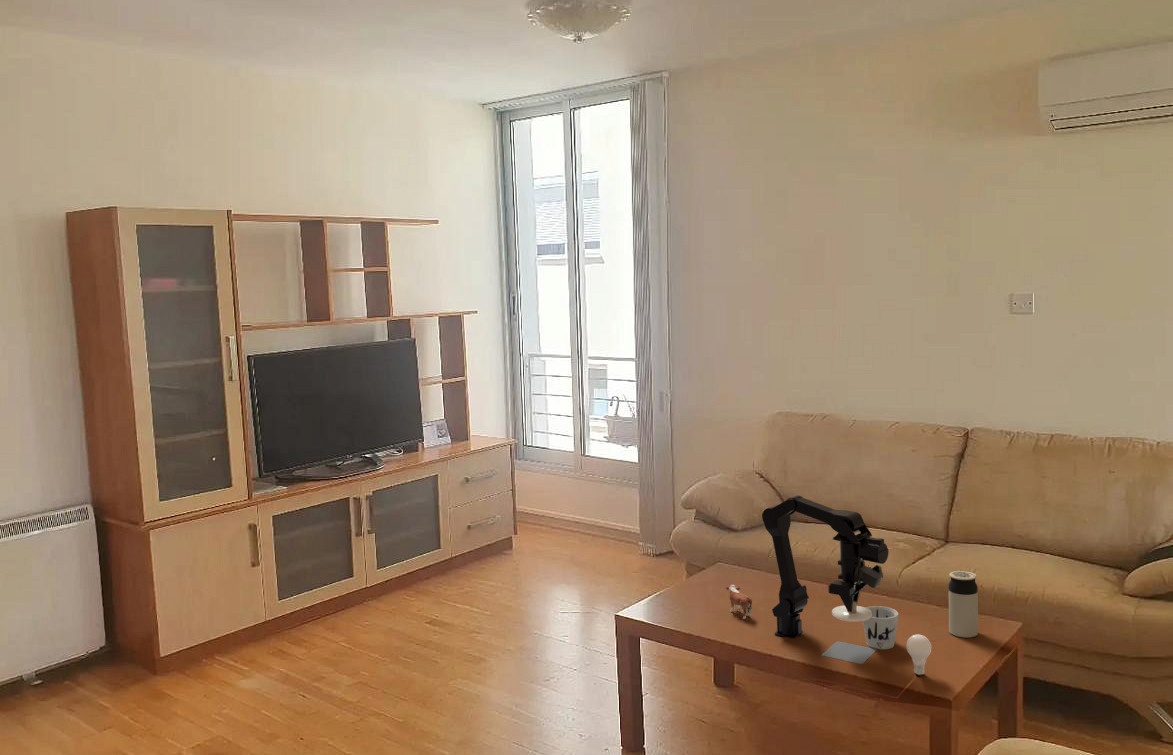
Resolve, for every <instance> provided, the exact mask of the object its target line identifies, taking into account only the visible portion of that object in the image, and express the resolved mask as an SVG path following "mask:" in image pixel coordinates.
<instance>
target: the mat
mask: <svg viewBox="0 0 1173 755" xmlns="http://www.w3.org/2000/svg"><path fill="white" fill-rule="evenodd" d="M877 651H878V649H876V648H872V647H870V646H864V645H860V644H859V645H858V644H854V643H853V644H852V643H848V642H844V641H838V640H836V642H834V643H833V644H832V645H831V646H830V647H829V648H827V650H825V651H824V652H823V653H822V654H821V655H820V656H821V657H825V658H826V657H827V658H830V659H832V658H833V659H836V660H840V661H844V662H850V663H855V664H859V665H863V664H864V663H865V662H867V660H868V659H870V657H871V656H873V655H874V654H875V652H877Z"/></svg>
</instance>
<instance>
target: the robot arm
mask: <svg viewBox="0 0 1173 755" xmlns="http://www.w3.org/2000/svg"><path fill="white" fill-rule="evenodd" d="M795 513H799V514H801V515H804V516H805V517H809V518H811V519H814V520H816V521H819V522H821V523H824V524H827V525H828V526H829V527H830V528H831V529H832V530H833V531H835V532H837V534H836V535H834V536H833V537H832V540H833V541H838V542H839V550H840V552H839V554H840V555H839V557H840V560H838V561H837V566H838V565H839V566H840V574H838V575H837V576H838V577H837V579H838V580H835V581H833V582H832V583H830V584H829V585H828V590H827V591H828V593H829V594H831V595H838V596H839V597H840V599H841V601H842V603H843V606H844V605H845V607H846V609H847V611H848V612H852V608H853V601H856V604H857V605H858V601H859V598H860V594H861V592H862V589H864V588H865V587H867V586H868V587H870V588H871V589H875V588H877V587H878V586H880V584H881V580H882V579H883V578H884V573H883V569H882V566H881V565H883V564H884V565H885V563H886V562H887V560H888V557H889V551H890V550H889V548H888V546H887V544H886V543H885V539H884V538H881V537H878V538H877V537H872V536H873V534H872V533H871V531H870V529H869V528H868V526H867V525H866V523H865V522H864V518H863V517H862V515H861V514H860V513H859V512H857V511H852V510H845V509H844V510H843V509H834V508H831V507H829V506H826V505H824V504H820V503H818V502H815V501H813V500H809V499H807V498H805V497H803V496H801V495H794V496H791V497H788V498H787V499H786V500H785V501H783V502H781V503H779V504H776V505H773V506H769V507H768V508H765V509H764V510H763V512H762V513H761V519H762V522H763V525H764V528H765V530H766V531H767V532H768V534H769V535H770V536H771V538H772V543H773V548H774V553H775V558H776V563H777V567H778V572H779V577H780V588H779V592H778V602H779V603H777V605H775V606H774V607H773V608H772V609H771V612H772V614H773V616H774V617H776V632H774V635H775V636H779V637H784V638H791V639H796V638H797V637H799V635H800V634H802V633H803V632H804V631H803V627H802V625H803V624H802V619H801V614H800V613H802V612H804V608H806V606H807V605H808V599H809V598H810V597H809V595H808V592H807V591H808V590H807V586H806V585H805V584H804V585H802V584H801V583H800V582H799V580H798V576H797V572H796V566H795V560H794V555H793V551H792V547H791V542H790V536H789V531H790V527H791V524H792V523H791V522H792V521H791V516H792V515H793V514H795ZM865 561H866V562H871V563H876V565H874V566H873V567H872V566H866V565H865V564H866V562H865Z"/></svg>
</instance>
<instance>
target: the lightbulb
mask: <svg viewBox="0 0 1173 755" xmlns="http://www.w3.org/2000/svg"><path fill="white" fill-rule="evenodd" d="M906 651H907V653H908V655H909V656H910V657H911V660H912V664H913V672H914V673H915V674H916V675H917V676H922V675H924V674H925V664H926V662H927V659H928V657H929V656H930V654H931V652H932V643H931V642H930V640H929V638H927V637H926V636H925V635H922V634H913V635H910V637H909V638H908V639H907V641H906Z"/></svg>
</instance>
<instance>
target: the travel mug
mask: <svg viewBox="0 0 1173 755" xmlns="http://www.w3.org/2000/svg"><path fill="white" fill-rule="evenodd" d="M949 577H950V581H949V583H948V632H949V633H950V634H951V635H953V636H954V637H958V638H965V639H969V638H974V637H976V636H978V635H979V620H978V618H979V608H978V607H979V605H978V604H979V603H978V602H979V601H978V600H979V598H978V597H979V595H978V594H979V592H978V589H979V588H978V585H977V584H978V583H977V582H976V579H977V574H976V573H975V572H972V571H966V570H955V571H951V572H950V573H949Z"/></svg>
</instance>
